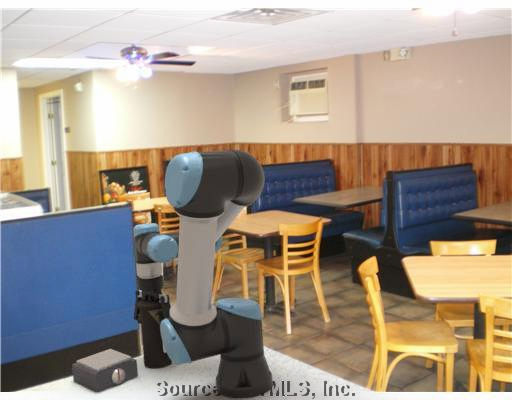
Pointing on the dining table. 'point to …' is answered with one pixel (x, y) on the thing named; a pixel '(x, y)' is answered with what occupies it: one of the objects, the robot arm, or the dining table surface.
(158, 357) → the container
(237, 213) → the robot arm
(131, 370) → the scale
